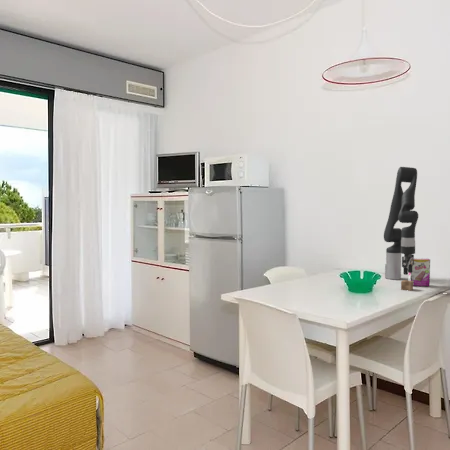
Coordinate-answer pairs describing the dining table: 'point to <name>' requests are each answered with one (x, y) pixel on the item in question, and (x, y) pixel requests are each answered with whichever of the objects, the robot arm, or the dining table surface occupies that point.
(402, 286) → the walnut cube
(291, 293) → the dining table surface
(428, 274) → the candy bar box
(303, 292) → the dining table surface
